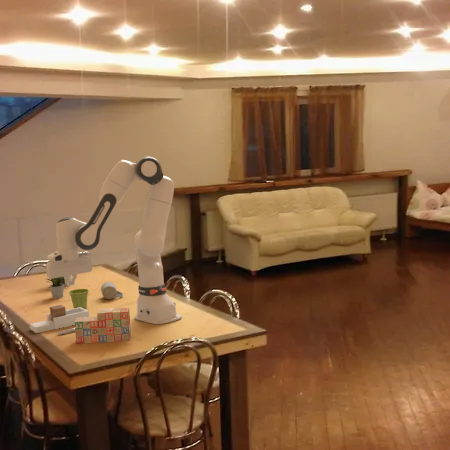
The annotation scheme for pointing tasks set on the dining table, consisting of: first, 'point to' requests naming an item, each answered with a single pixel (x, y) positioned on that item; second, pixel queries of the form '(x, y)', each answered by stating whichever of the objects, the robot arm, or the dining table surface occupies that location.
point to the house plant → (56, 287)
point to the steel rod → (66, 331)
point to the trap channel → (59, 320)
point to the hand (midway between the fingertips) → (71, 284)
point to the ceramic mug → (110, 291)
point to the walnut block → (57, 311)
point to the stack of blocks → (104, 326)
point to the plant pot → (79, 298)
